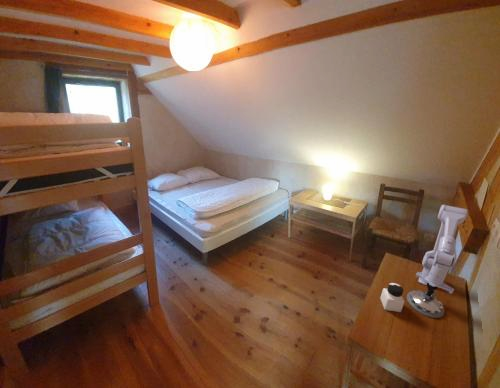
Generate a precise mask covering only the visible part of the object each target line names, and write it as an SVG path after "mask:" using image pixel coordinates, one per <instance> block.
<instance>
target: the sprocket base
mask: <svg viewBox="0 0 500 388" xmlns="http://www.w3.org/2000/svg"><path fill="white" fill-rule="evenodd" d="M412 291H413V290H411V291H409V292H408V293H407V294H406V298H405V299H406V302H407V303H408V305H409V306H410V307H411V308H412V310H414V311H416V312H417V313H419V314H421V315H422V316H425V317H427V318H431V319H439V318H442V317H443V316H444V314H445V307H444V306H443V305H444V304H442V305H441V306H442V307H443V310H442V311H441V310H440V311H441V312H440V313H439V314H438V313H436V312H435V313H434V314H431V313H430V312H428V311H426V312H424V311H422V309H421V308H420V307H416V306H415V305H414V304H415V303H414V302H411V300H410V298H412V297H410V293H412ZM415 291H416V292H418V290H415ZM412 294H413V293H412ZM436 300H437V301H439V300H438V299H436Z"/></svg>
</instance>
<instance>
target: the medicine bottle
mask: <svg viewBox="0 0 500 388" xmlns="http://www.w3.org/2000/svg"><path fill="white" fill-rule="evenodd" d="M403 294H404V288H403V287H402V286H401V285H400V284H398V283H395V282H391V283H389V284H388V285H387V288H382V291H381V295H380V301H381V304H382V307H383V309H384V310H385V311H389V312H390V311H392V312H397V313H402V311H403V307H404V304H405V299H404V297H403Z"/></svg>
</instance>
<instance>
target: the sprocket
mask: <svg viewBox="0 0 500 388" xmlns="http://www.w3.org/2000/svg"><path fill="white" fill-rule="evenodd" d="M411 291H412V293H413V294H412V293H410V297H412V298H410V300H411V302H414V303H415V304H414V305H415V306H416V307H420V308H421V309H422V311H424V312H426V311H428V312H430V313H431V314H434V313H435V312H436V313H438V314H439V313H440V312H441V311H442V310H443V307H444V306H443V307H442V306H441V305H443V303H442V302H441V301H439V300H438V299H437V297H436V295H437V291H436V290H434V291H432V292H431V295H430V297H429V296H427V295H426V294H427V292H428V291H425V292H424V291H422V290H419V289H417V290H411ZM416 291H418V292H416ZM436 299H437V300H438V301H437V300H436ZM440 310H441V311H440Z"/></svg>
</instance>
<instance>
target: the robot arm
mask: <svg viewBox="0 0 500 388" xmlns="http://www.w3.org/2000/svg"><path fill="white" fill-rule="evenodd" d="M468 212H469V211H468V209H467V208H461V207H456V206H452V205H451V206H450V205H448V204H447V205H446V204H442V205H440V208H439V212H438V214H437V220H439V221H440V228H439V231H438V234H437V237H436V240H435V243H434V247H433V250H429V251H426V252H425V254H424V256H423V257H422V258H423V259H422V262H421V263H422V266H423V268H422V271H421V272H419V271H417V272H416V274H415V277H416V278H418V280H417V282H418V283H419V284H423V285H424V286H426V288H427V291H426V292H427V294H426V295H427V296H429V297H430V295H431V292H432V291H436V290H437V289H438V288H439V289H442V290H444V291H446V292H448V294H450V295H452V294H453V293H454V291H455V288H453V287H451V286H449V285H448V284H447V283H446V282H444V281H445V279H446V276H447V274H448V272H449V270H450V268H452V267H453V266H454V264H455V261H456V252H455V249H456V245H457V240H456V239H455V235H456V232H457V228H458V225H461V224H462V223H463V222H464V221H465V220H466V219H467V215H468Z"/></svg>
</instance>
